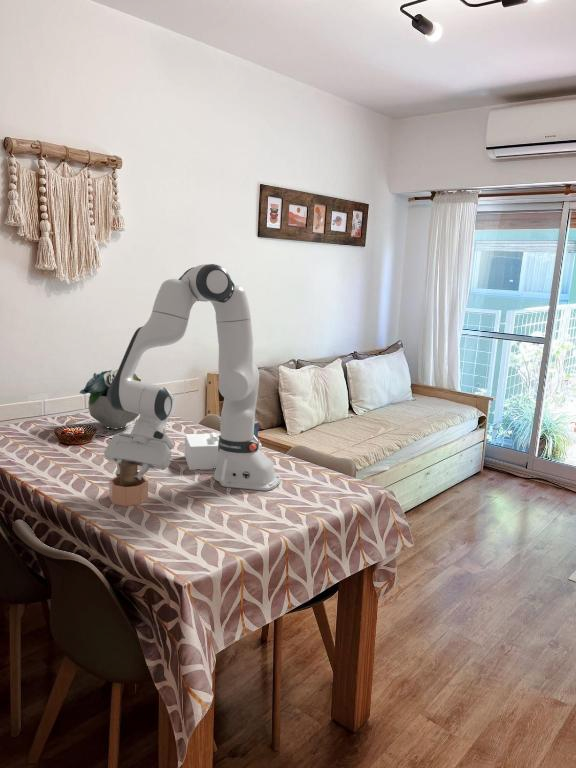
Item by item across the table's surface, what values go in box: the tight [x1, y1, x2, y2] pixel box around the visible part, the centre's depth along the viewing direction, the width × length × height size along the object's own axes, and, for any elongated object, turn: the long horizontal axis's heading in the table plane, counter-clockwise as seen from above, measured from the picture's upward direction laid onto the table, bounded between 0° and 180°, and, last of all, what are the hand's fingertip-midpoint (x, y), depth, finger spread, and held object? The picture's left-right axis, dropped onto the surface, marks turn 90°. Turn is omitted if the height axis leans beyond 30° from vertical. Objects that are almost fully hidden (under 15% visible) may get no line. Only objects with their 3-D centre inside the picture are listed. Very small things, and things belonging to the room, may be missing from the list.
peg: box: [120, 462, 139, 487], centre depth 173 cm, size 5×5×8 cm
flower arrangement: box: [79, 369, 142, 428], centre depth 242 cm, size 25×25×24 cm
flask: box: [254, 420, 259, 440], centre depth 232 cm, size 9×3×11 cm, turn 144°
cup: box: [108, 475, 149, 507], centre depth 174 cm, size 10×10×6 cm
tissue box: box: [184, 432, 263, 471], centre depth 211 cm, size 14×25×11 cm, turn 107°
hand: (127, 477), depth 173 cm, fingers closed on peg, 5 cm apart
